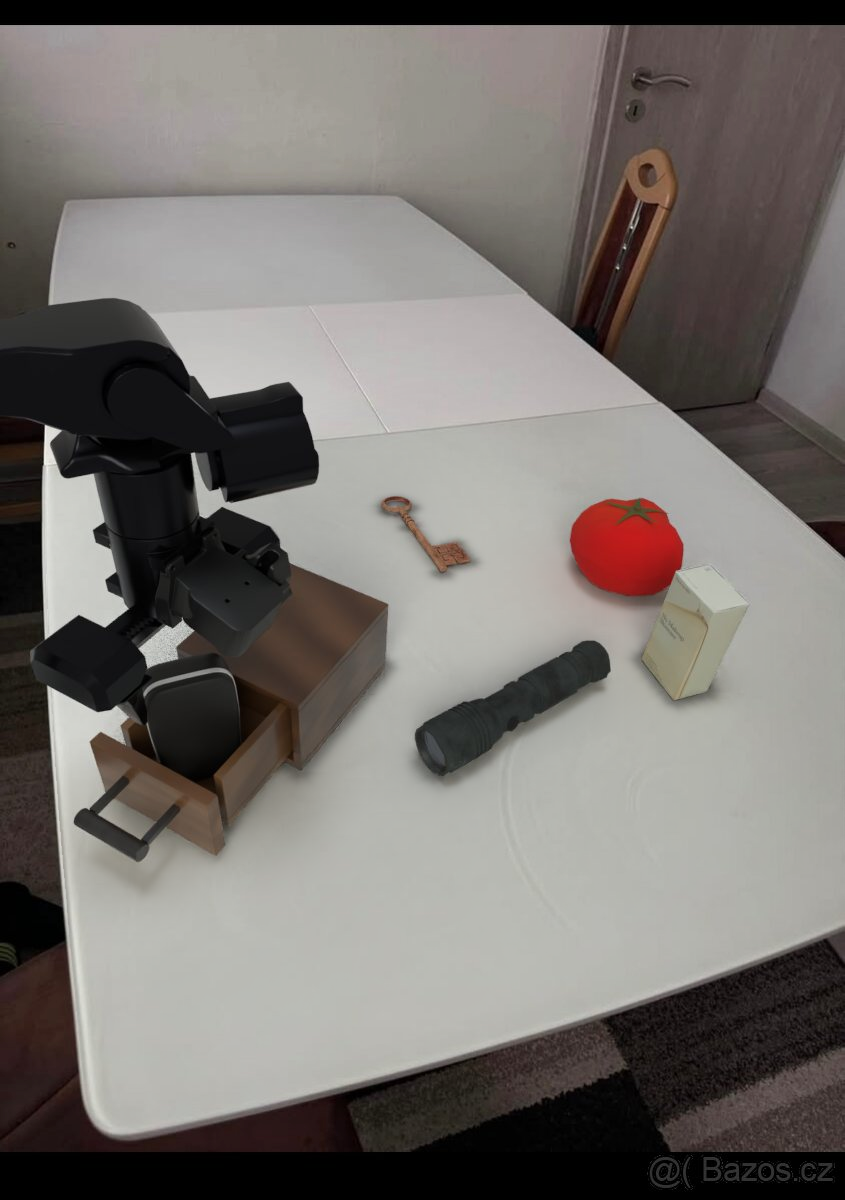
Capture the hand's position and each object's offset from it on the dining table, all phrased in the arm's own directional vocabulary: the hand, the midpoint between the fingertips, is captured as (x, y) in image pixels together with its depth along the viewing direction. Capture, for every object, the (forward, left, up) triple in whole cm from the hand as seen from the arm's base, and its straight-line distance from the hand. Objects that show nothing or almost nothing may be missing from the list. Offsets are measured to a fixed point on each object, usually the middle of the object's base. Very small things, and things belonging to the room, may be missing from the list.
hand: (183, 681), depth 61 cm
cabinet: (+12, 0, -12) cm, 18 cm away
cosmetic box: (+34, -32, -13) cm, 49 cm away
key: (+41, +1, -12) cm, 43 cm away
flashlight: (+20, -20, -13) cm, 32 cm away
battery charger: (0, 0, -11) cm, 11 cm away
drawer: (-1, 0, -11) cm, 12 cm away
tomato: (+46, -22, -13) cm, 53 cm away
